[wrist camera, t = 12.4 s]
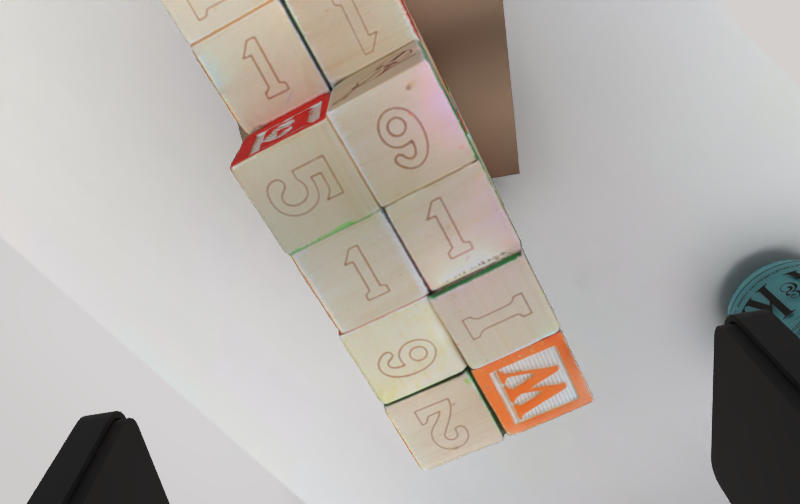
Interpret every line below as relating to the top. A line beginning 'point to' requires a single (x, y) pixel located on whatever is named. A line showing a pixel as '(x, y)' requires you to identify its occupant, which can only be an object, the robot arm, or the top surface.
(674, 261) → the top surface
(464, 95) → the walnut base brick
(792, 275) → the beverage bottle
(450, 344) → the stack of blocks
